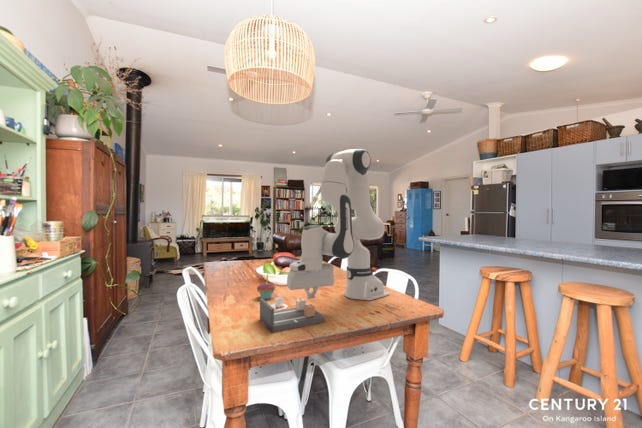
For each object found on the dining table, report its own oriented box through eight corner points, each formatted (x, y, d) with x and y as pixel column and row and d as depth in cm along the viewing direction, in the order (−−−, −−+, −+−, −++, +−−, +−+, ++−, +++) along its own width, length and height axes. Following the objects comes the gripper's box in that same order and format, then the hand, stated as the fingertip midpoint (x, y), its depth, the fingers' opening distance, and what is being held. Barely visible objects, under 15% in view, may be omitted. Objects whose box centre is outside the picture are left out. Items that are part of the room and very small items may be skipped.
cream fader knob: (302, 307, 118) (302, 298, 118) (305, 309, 116) (305, 300, 116) (295, 308, 117) (295, 299, 117) (298, 310, 114) (298, 301, 114)
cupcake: (277, 298, 137) (277, 273, 137) (261, 301, 132) (261, 275, 132) (270, 294, 144) (270, 270, 144) (254, 297, 140) (254, 272, 139)
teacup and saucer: (268, 311, 120) (268, 302, 120) (266, 305, 128) (266, 296, 128) (288, 310, 123) (288, 300, 123) (286, 304, 130) (286, 295, 130)
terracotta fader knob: (311, 313, 111) (311, 304, 111) (314, 315, 109) (314, 306, 109) (304, 314, 110) (304, 305, 110) (307, 317, 107) (307, 307, 107)
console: (308, 310, 122) (308, 291, 122) (325, 322, 109) (325, 301, 108) (259, 318, 112) (259, 298, 112) (271, 333, 99) (271, 309, 99)
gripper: (329, 261, 126) (329, 293, 126) (285, 264, 116) (285, 299, 116) (337, 264, 120) (336, 297, 120) (291, 267, 111) (290, 303, 110)
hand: (310, 298), depth 118 cm, fingers closed
